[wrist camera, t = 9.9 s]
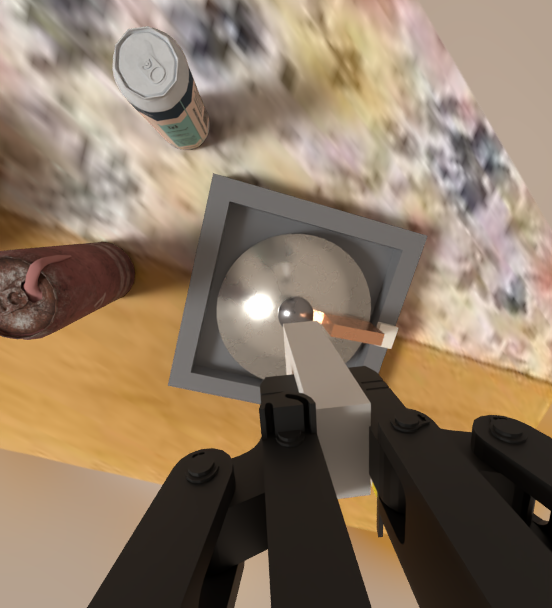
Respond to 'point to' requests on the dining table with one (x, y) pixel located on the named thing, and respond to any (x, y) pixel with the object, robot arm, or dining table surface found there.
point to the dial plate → (259, 226)
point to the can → (59, 286)
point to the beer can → (160, 86)
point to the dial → (292, 300)
